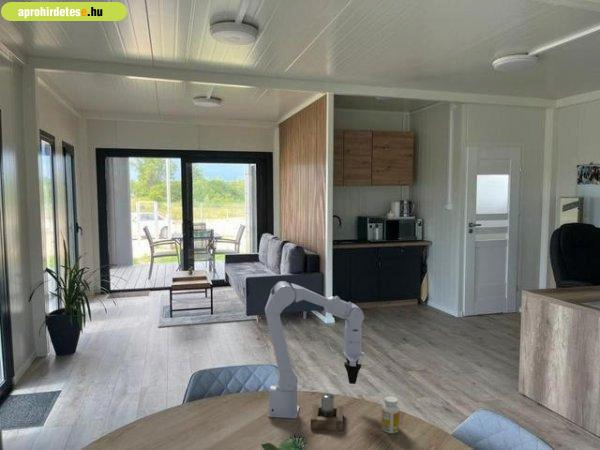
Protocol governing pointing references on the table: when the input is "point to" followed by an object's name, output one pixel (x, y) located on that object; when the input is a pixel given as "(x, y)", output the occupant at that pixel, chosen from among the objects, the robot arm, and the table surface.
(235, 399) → the table surface
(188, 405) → the table surface
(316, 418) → the socket block
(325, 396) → the grey cylinder
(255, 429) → the table surface
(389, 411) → the supplement bottle
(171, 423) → the table surface
